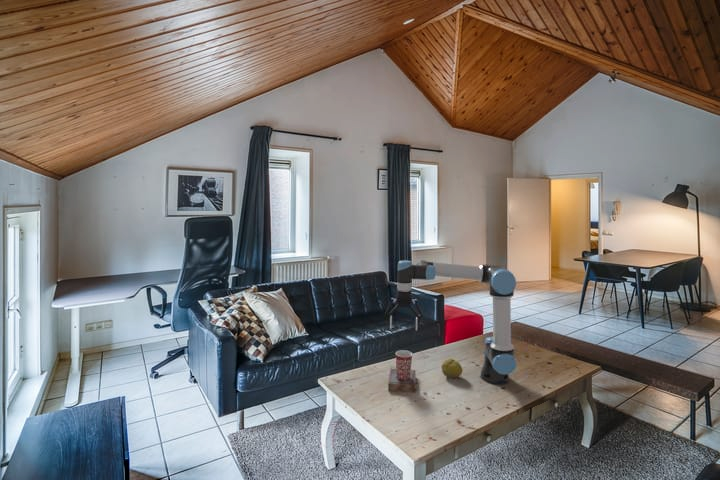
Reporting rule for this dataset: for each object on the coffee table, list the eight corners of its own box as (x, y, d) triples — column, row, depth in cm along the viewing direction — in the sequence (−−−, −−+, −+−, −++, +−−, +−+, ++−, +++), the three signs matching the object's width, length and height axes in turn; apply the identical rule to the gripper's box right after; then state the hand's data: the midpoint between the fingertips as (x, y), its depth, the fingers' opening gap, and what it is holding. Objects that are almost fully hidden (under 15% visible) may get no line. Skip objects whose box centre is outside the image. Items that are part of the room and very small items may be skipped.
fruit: (445, 382, 210) (446, 365, 209) (438, 373, 222) (438, 356, 220) (465, 381, 212) (465, 364, 211) (456, 372, 223) (457, 355, 222)
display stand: (415, 377, 217) (415, 369, 216) (415, 392, 199) (415, 384, 198) (390, 375, 219) (390, 367, 218) (388, 390, 201) (388, 382, 200)
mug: (413, 381, 203) (414, 356, 201) (397, 382, 201) (397, 357, 200) (407, 370, 215) (408, 347, 213) (391, 371, 214) (392, 347, 212)
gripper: (428, 289, 205) (427, 327, 207) (381, 287, 209) (380, 325, 211) (428, 292, 198) (427, 332, 200) (380, 290, 201) (379, 330, 203)
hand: (403, 329), depth 205 cm, fingers open, 13 cm apart
